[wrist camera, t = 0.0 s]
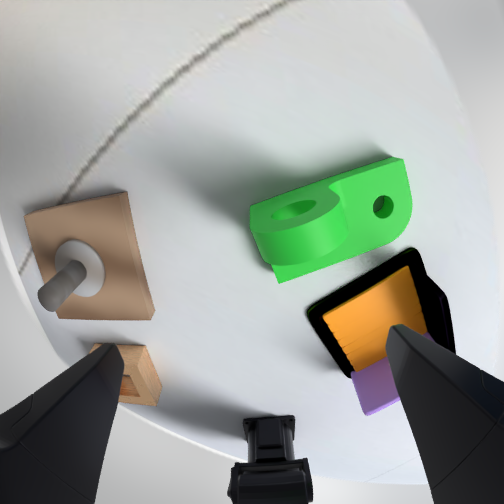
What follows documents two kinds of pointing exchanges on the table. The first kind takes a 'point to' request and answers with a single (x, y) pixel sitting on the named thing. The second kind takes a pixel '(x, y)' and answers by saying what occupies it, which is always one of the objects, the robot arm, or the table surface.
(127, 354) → the wooden collar
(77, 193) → the table surface
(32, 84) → the table surface
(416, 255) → the toy room diorama
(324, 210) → the mechanical part
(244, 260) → the table surface
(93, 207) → the post stand
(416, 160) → the table surface
